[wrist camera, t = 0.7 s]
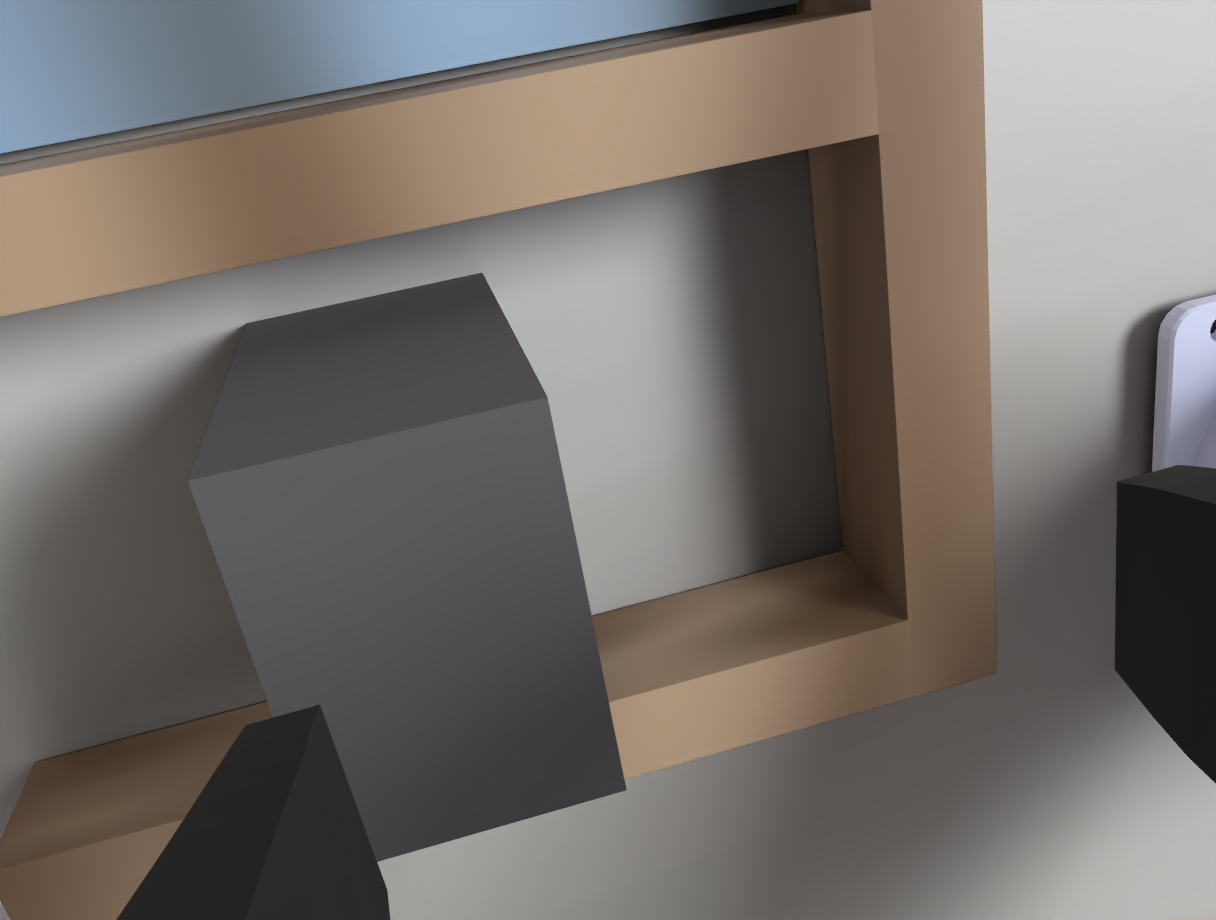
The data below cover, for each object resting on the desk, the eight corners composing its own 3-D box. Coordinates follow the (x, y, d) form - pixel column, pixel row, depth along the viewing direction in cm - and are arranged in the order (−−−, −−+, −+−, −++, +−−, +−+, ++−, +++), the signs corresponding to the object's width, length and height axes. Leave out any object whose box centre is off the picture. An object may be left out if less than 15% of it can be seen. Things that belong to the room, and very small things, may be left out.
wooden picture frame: (846, -860, 12) (958, -1065, 10) (923, 600, 20) (996, 673, 18) (-876, -732, 10) (-1248, -963, 8) (-25, 858, 18) (-81, 980, 15)
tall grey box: (481, 272, 16) (547, 397, 10) (544, 560, 18) (626, 789, 13) (247, 323, 15) (187, 481, 10) (337, 612, 17) (330, 875, 12)
